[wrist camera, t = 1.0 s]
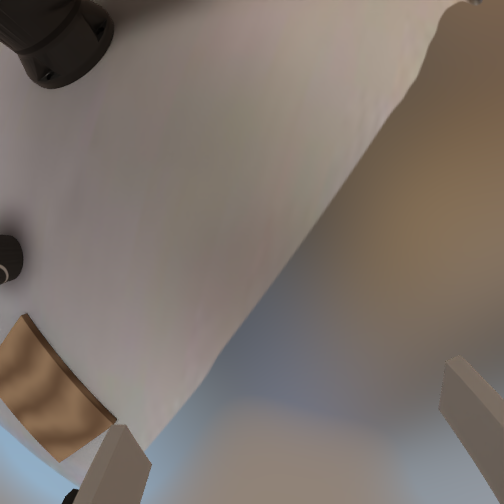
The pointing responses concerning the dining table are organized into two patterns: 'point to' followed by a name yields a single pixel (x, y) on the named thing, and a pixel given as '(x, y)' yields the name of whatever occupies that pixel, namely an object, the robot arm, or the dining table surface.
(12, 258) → the coffee cup
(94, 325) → the dining table surface
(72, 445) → the wooden board
